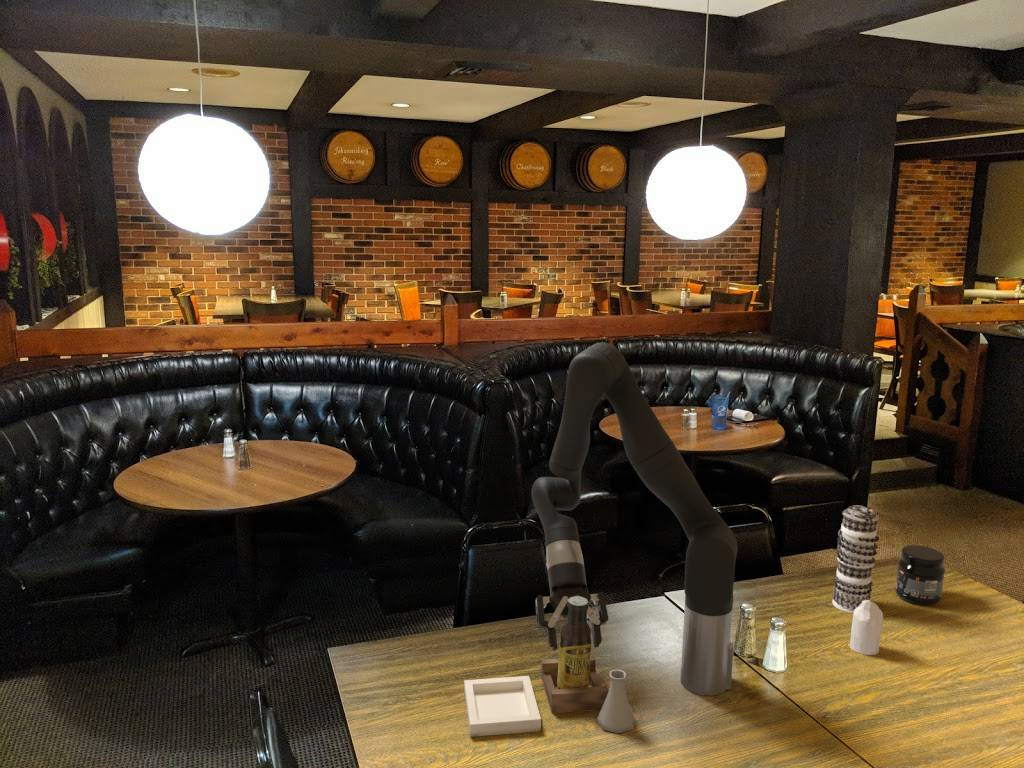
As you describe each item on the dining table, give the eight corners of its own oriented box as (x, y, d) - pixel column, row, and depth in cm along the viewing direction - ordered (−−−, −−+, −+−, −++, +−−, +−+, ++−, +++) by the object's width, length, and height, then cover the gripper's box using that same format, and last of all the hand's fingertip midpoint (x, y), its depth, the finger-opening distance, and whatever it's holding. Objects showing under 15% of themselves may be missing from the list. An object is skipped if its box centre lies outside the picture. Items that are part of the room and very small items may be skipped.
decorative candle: (874, 602, 195) (885, 506, 190) (868, 618, 188) (879, 519, 182) (834, 593, 200) (844, 499, 195) (827, 608, 193) (837, 510, 187)
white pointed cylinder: (882, 594, 174) (887, 606, 169) (876, 644, 177) (881, 657, 171) (853, 591, 175) (857, 603, 170) (847, 640, 178) (851, 654, 173)
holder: (593, 673, 164) (593, 656, 164) (607, 708, 153) (608, 690, 152) (540, 677, 163) (541, 659, 162) (551, 713, 151) (552, 694, 150)
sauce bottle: (562, 704, 154) (565, 610, 150) (552, 686, 160) (554, 595, 156) (594, 699, 156) (597, 606, 152) (583, 681, 162) (586, 591, 157)
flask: (637, 734, 145) (640, 685, 143) (598, 733, 145) (599, 685, 143) (632, 710, 152) (634, 663, 150) (595, 709, 153) (596, 662, 150)
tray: (528, 686, 160) (528, 675, 159) (540, 731, 146) (540, 719, 146) (464, 691, 158) (464, 680, 157) (470, 736, 144) (470, 724, 144)
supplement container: (905, 583, 206) (911, 540, 203) (948, 598, 198) (954, 553, 195) (886, 595, 199) (891, 551, 197) (929, 611, 191) (935, 565, 189)
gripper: (533, 562, 159) (542, 645, 150) (603, 558, 161) (615, 640, 152) (529, 575, 165) (537, 655, 156) (596, 571, 167) (608, 650, 158)
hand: (576, 647), depth 154 cm, fingers open, 8 cm apart
